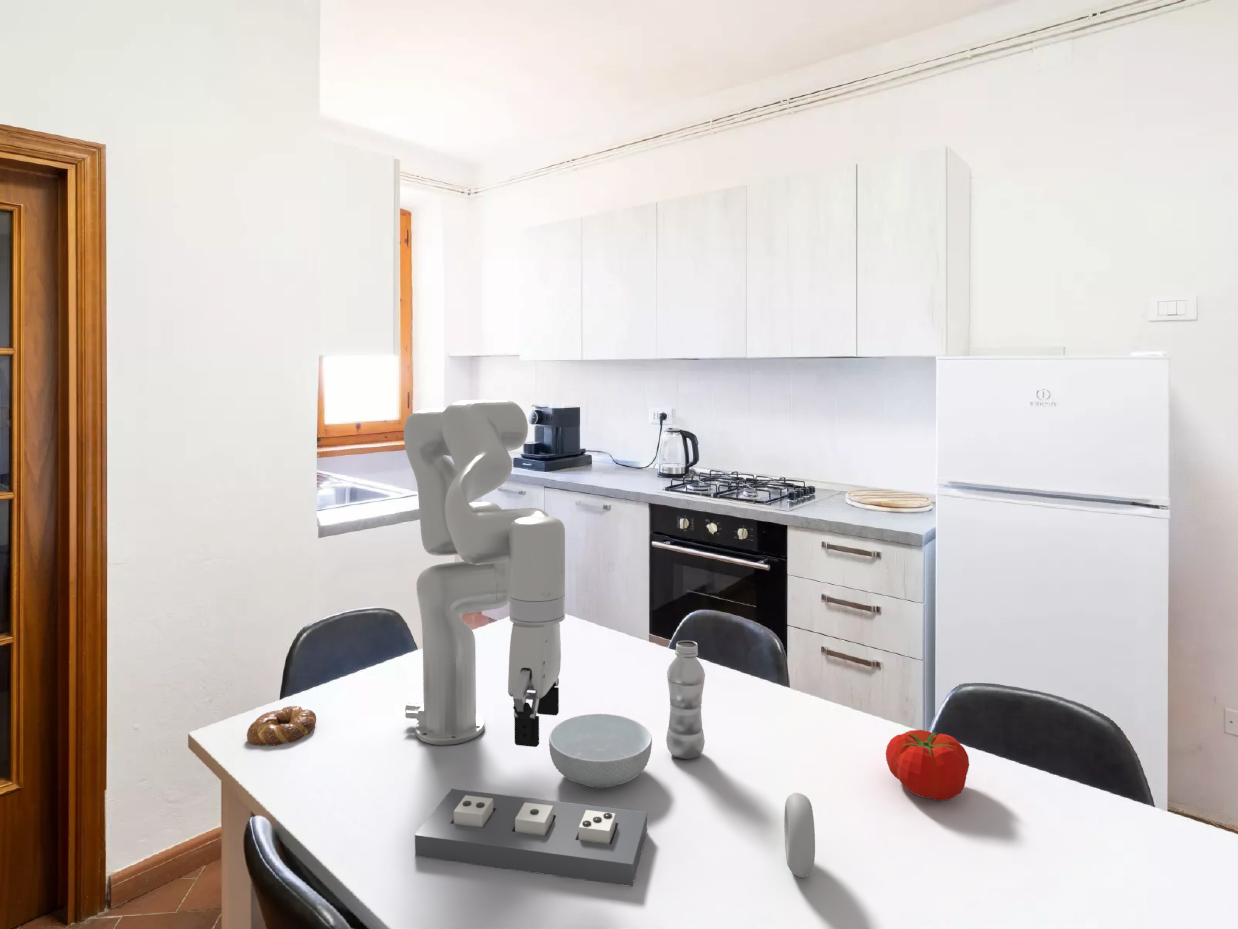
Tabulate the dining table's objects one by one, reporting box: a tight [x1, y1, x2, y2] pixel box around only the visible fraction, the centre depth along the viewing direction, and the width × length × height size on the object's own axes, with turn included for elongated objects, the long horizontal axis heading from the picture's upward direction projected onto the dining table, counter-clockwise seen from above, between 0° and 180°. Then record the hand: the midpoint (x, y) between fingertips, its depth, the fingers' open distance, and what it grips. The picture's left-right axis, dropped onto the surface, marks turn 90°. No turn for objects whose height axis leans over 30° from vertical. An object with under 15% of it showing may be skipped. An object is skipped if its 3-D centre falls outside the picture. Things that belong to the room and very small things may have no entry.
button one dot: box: [515, 803, 553, 836], centre depth 102 cm, size 4×4×3 cm
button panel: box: [414, 788, 648, 887], centre depth 102 cm, size 30×12×3 cm, turn 79°
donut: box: [783, 792, 816, 878], centre depth 97 cm, size 10×4×10 cm, turn 172°
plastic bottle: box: [665, 640, 706, 760], centre depth 127 cm, size 6×7×20 cm
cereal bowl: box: [548, 713, 653, 789], centre depth 120 cm, size 17×17×7 cm
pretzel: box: [246, 705, 317, 746], centre depth 134 cm, size 12×11×4 cm
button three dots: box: [579, 810, 615, 844], centre depth 100 cm, size 4×4×3 cm
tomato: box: [885, 729, 970, 802], centre depth 117 cm, size 14×13×9 cm
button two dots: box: [454, 795, 493, 828], centre depth 103 cm, size 4×4×2 cm
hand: (537, 728), depth 101 cm, fingers open, 9 cm apart
